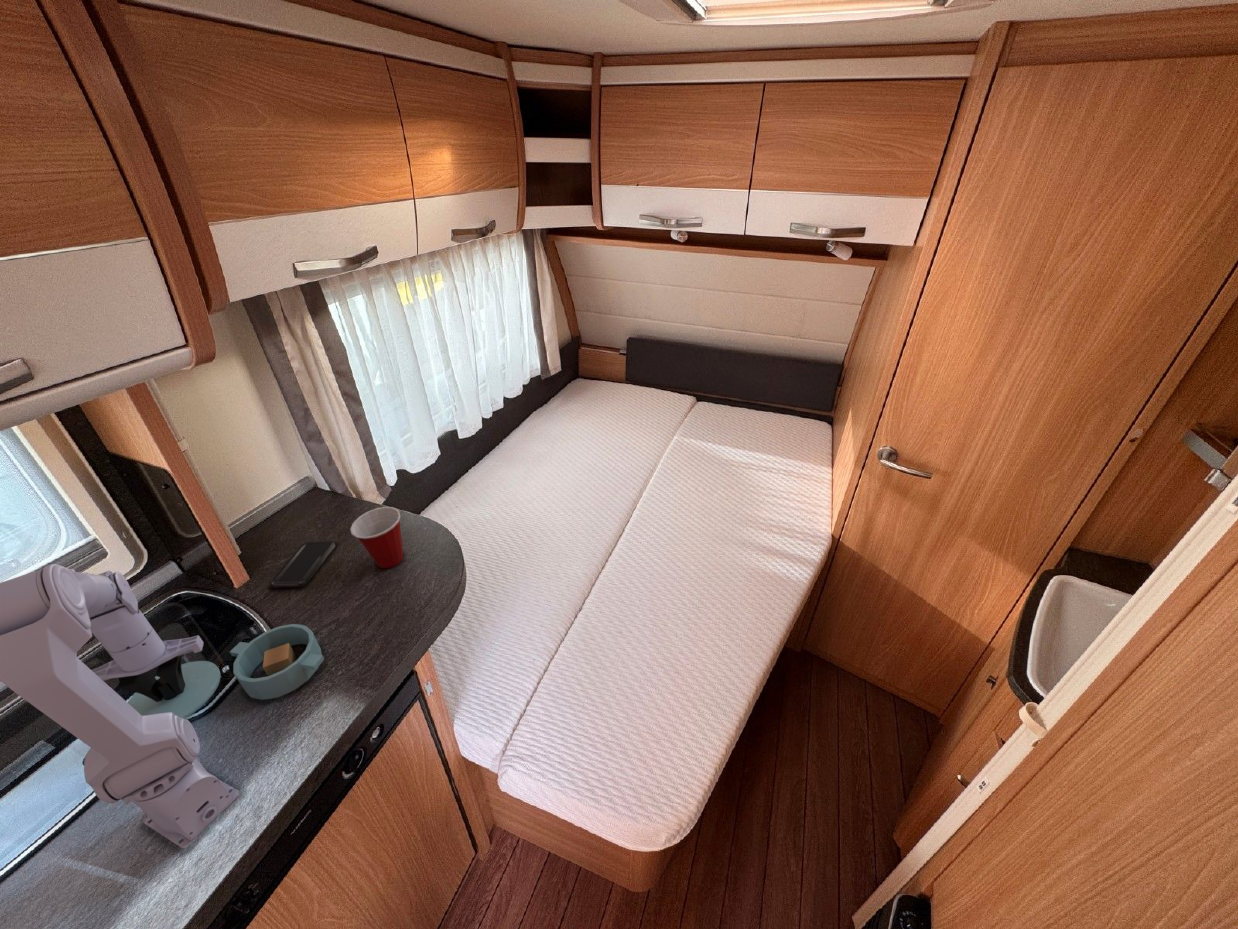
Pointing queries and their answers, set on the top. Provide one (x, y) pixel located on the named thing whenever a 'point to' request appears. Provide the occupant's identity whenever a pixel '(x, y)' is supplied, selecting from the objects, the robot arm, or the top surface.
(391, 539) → the plastic cup
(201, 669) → the lid
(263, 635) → the pot
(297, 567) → the phone
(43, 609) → the robot arm
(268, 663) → the block
